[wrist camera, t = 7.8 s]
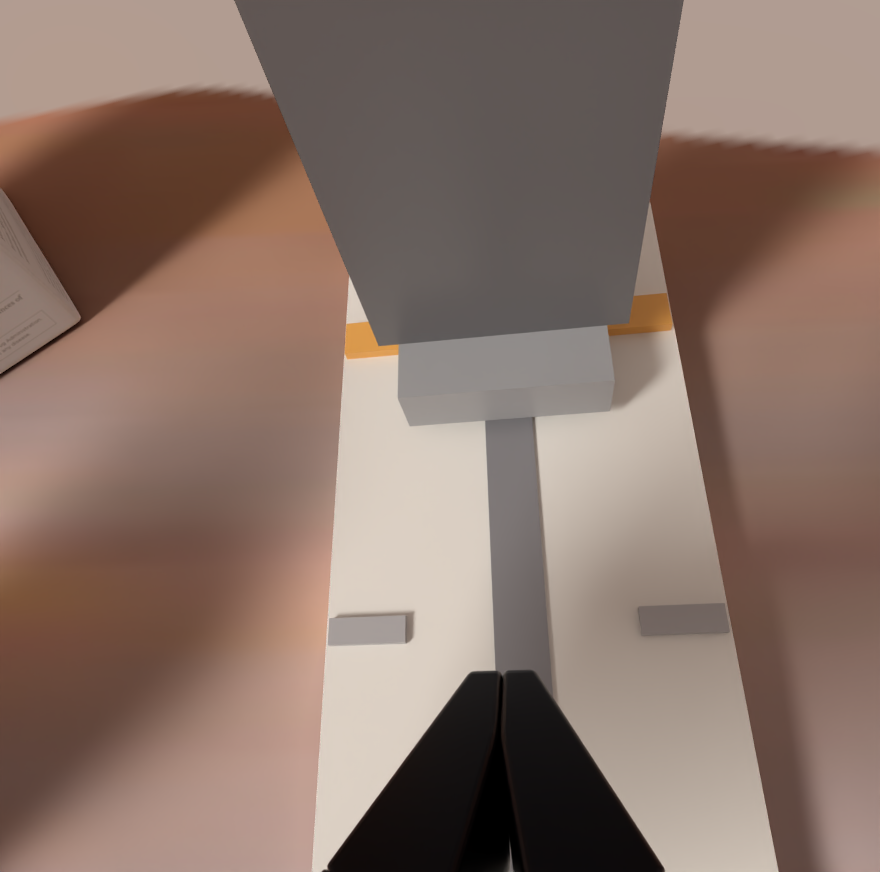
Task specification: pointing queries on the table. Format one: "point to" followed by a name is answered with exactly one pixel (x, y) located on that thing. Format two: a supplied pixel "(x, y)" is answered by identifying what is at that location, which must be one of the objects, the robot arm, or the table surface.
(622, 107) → the fader
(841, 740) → the table surface
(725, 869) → the fader base
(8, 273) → the supplement box
